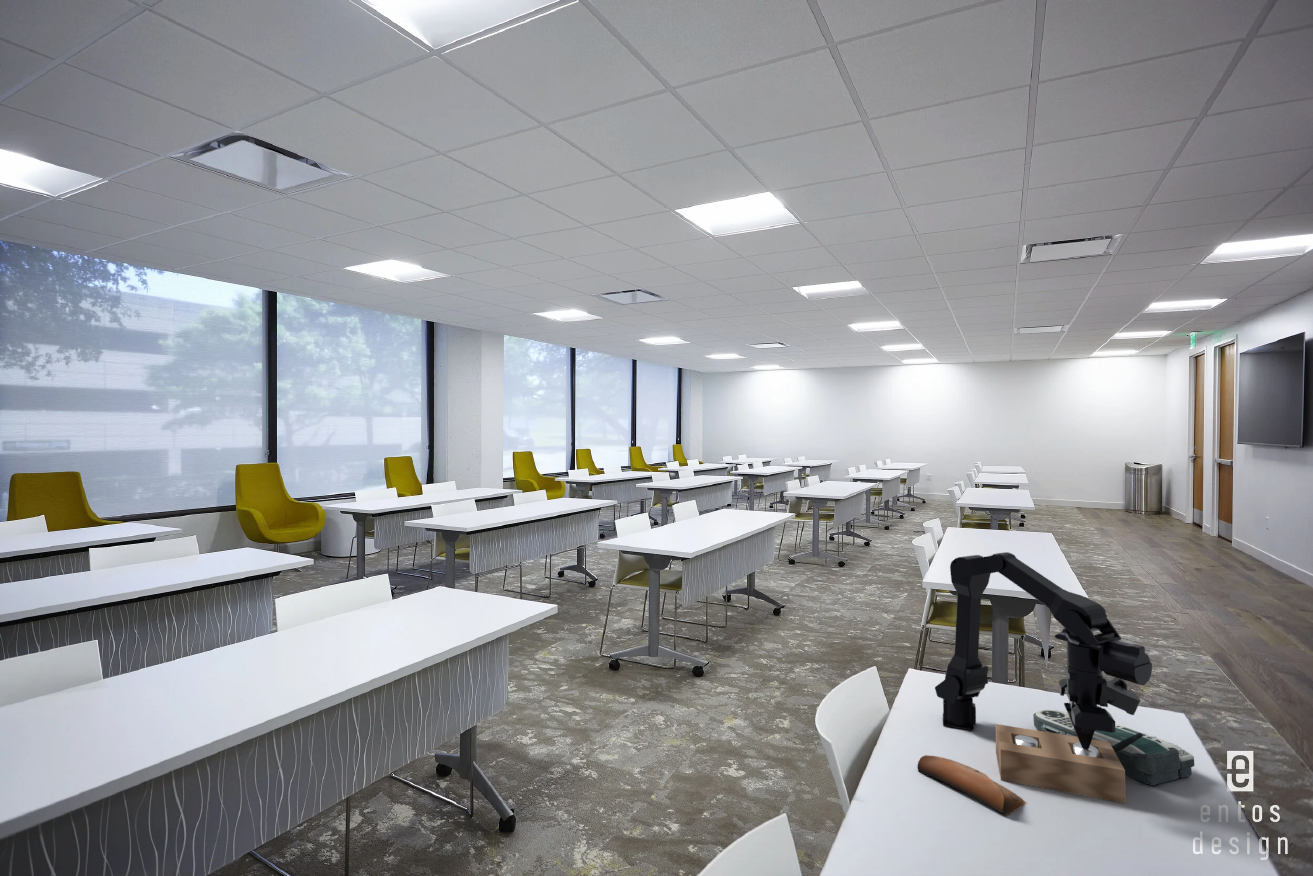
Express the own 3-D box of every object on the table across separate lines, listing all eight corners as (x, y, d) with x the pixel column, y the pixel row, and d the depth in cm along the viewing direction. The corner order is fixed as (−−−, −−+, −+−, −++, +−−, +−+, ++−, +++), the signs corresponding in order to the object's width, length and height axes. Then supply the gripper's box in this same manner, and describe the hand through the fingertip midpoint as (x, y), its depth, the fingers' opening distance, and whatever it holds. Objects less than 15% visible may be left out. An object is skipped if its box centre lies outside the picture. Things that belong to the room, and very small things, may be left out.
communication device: (1064, 720, 151) (1063, 676, 151) (1198, 779, 124) (1196, 725, 124) (1018, 729, 146) (1017, 683, 146) (1146, 792, 119) (1145, 736, 119)
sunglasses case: (1031, 802, 116) (1020, 776, 114) (1012, 833, 113) (1001, 806, 111) (942, 760, 131) (931, 736, 129) (924, 786, 128) (912, 762, 126)
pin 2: (1075, 781, 122) (1075, 750, 122) (1071, 771, 125) (1071, 741, 125) (1100, 786, 120) (1100, 754, 120) (1095, 776, 124) (1095, 745, 124)
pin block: (1000, 780, 123) (1000, 749, 123) (995, 752, 134) (995, 724, 134) (1125, 803, 115) (1125, 770, 115) (1109, 771, 126) (1108, 741, 126)
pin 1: (1016, 772, 126) (1015, 742, 126) (1014, 763, 130) (1013, 734, 130) (1039, 777, 124) (1039, 746, 124) (1036, 767, 128) (1036, 737, 128)
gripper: (1150, 691, 111) (1150, 780, 111) (1122, 657, 128) (1122, 734, 128) (1075, 681, 116) (1075, 767, 116) (1057, 650, 133) (1058, 725, 133)
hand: (1085, 747), depth 123 cm, fingers closed, pressing on pin 2
